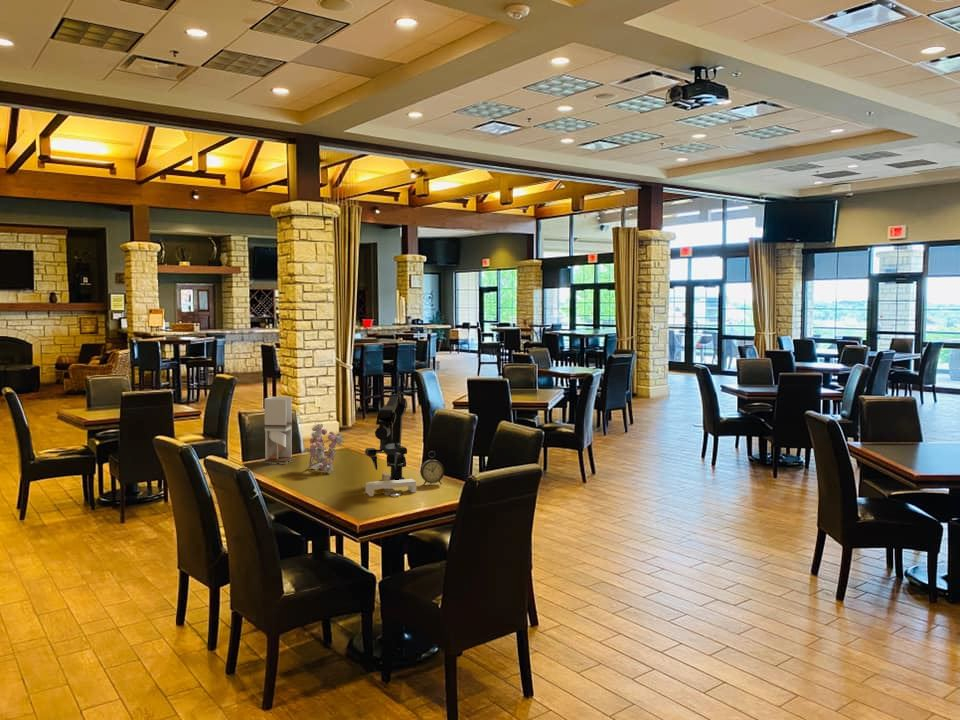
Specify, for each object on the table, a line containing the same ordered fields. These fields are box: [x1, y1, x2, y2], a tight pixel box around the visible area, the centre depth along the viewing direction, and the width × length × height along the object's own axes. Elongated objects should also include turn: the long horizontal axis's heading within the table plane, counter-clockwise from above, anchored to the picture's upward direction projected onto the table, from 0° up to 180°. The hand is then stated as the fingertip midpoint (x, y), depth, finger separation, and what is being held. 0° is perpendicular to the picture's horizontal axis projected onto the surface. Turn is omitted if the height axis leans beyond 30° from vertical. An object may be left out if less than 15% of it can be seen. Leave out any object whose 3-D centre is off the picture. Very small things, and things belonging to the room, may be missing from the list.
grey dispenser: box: [264, 396, 293, 464], centre depth 401 cm, size 11×11×35 cm
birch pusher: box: [381, 472, 403, 496], centre depth 341 cm, size 14×8×7 cm, turn 24°
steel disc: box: [389, 493, 401, 498], centre depth 333 cm, size 4×4×1 cm
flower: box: [300, 422, 346, 474], centre depth 381 cm, size 20×22×25 cm
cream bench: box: [365, 478, 417, 497], centre depth 338 cm, size 6×22×5 cm, turn 114°
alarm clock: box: [419, 450, 445, 486], centre depth 356 cm, size 11×5×16 cm, turn 105°
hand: (386, 469), depth 345 cm, fingers open, 9 cm apart
